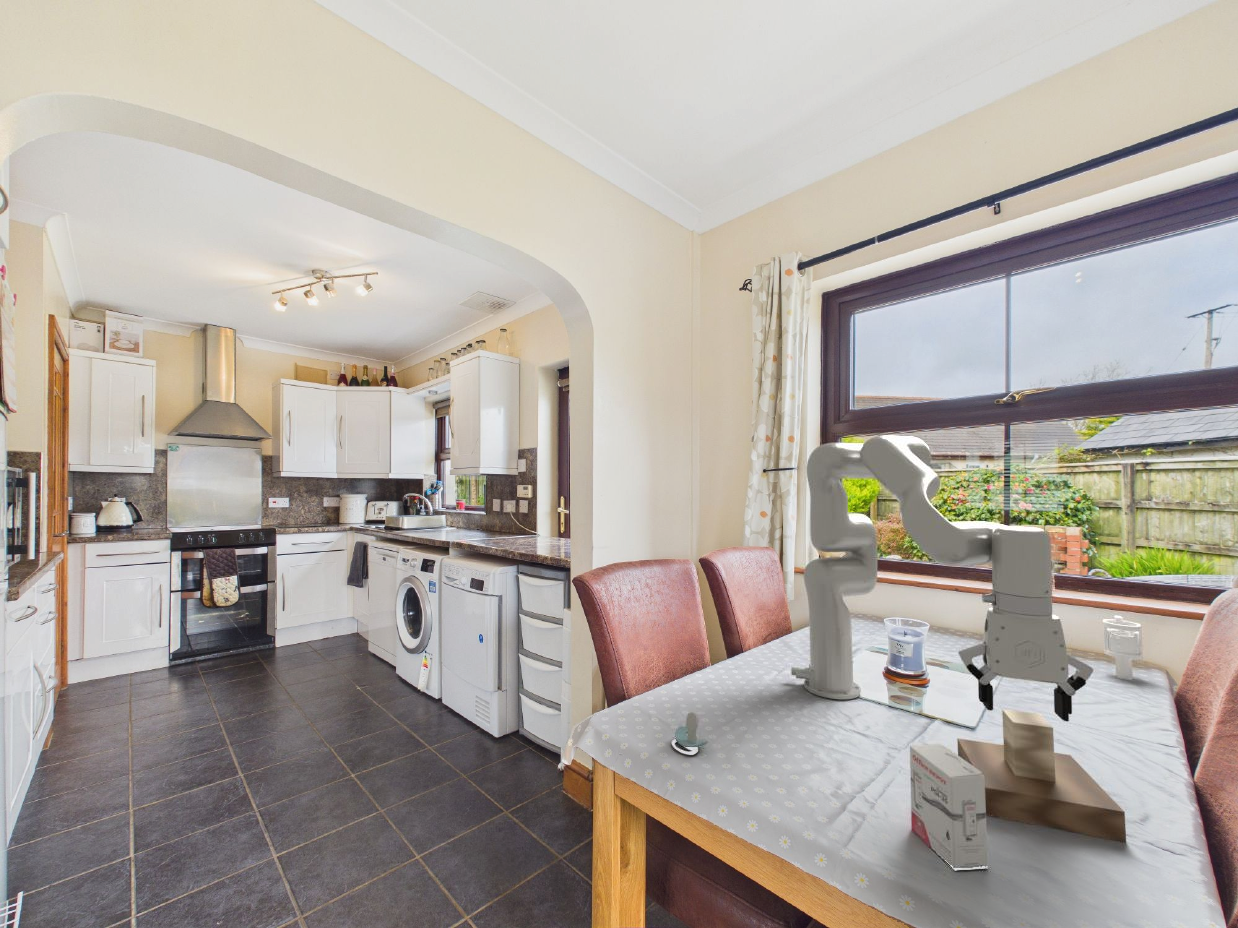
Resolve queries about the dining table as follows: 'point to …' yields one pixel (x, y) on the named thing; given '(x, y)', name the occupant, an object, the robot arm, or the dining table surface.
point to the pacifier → (689, 732)
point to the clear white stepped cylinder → (1123, 645)
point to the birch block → (1028, 745)
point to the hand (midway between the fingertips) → (1023, 711)
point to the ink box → (948, 805)
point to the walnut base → (1045, 794)
